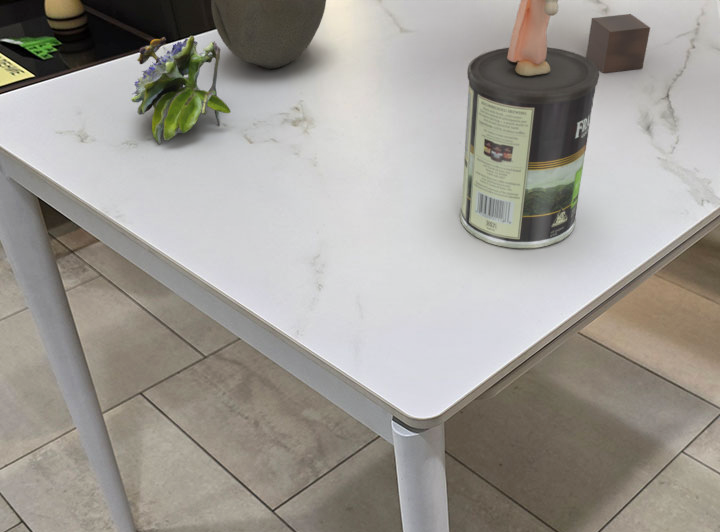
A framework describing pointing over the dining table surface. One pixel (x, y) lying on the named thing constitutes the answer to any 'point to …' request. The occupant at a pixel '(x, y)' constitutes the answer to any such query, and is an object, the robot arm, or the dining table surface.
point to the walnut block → (617, 43)
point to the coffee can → (525, 148)
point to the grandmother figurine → (531, 36)
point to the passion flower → (176, 87)
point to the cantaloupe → (267, 28)
